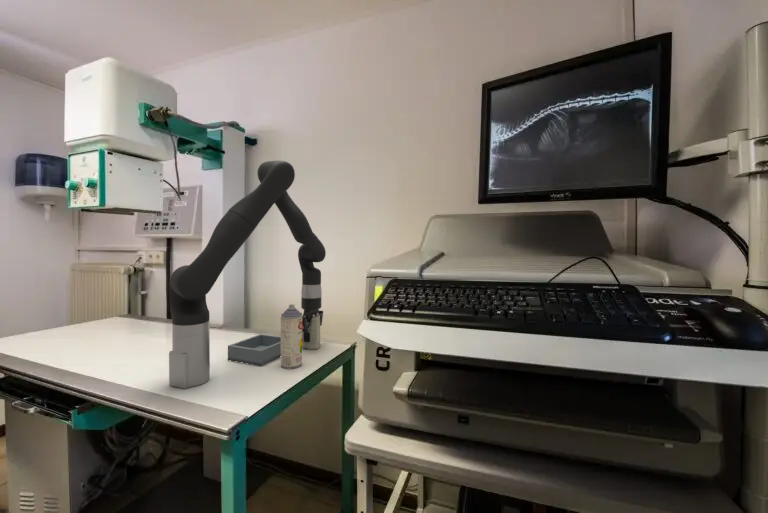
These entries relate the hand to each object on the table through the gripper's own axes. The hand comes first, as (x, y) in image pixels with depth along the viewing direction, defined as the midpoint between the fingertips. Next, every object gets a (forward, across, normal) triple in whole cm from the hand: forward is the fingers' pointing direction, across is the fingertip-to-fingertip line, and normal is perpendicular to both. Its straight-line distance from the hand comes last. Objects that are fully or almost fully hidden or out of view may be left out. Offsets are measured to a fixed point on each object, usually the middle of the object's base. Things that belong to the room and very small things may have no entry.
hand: (311, 339), depth 129 cm
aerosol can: (+3, -18, -4) cm, 19 cm away
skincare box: (+3, 0, 0) cm, 3 cm away
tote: (+3, -15, +11) cm, 19 cm away
